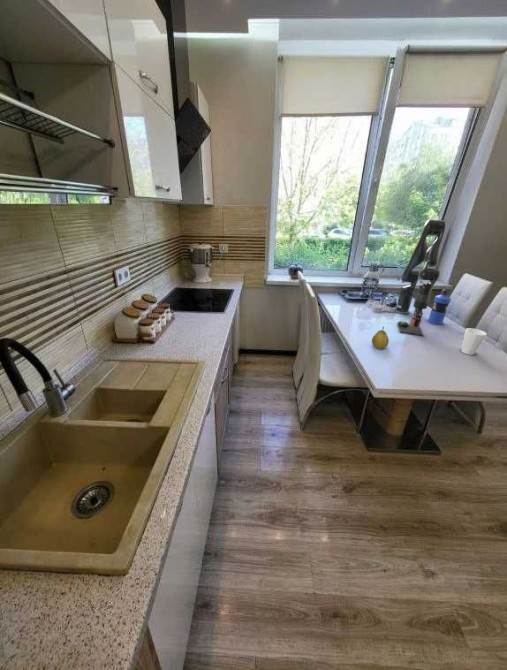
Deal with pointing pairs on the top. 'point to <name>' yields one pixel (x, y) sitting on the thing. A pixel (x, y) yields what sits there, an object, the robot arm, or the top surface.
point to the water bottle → (439, 308)
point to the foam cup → (472, 340)
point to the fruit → (380, 339)
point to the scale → (409, 329)
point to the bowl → (413, 322)
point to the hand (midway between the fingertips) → (414, 324)
